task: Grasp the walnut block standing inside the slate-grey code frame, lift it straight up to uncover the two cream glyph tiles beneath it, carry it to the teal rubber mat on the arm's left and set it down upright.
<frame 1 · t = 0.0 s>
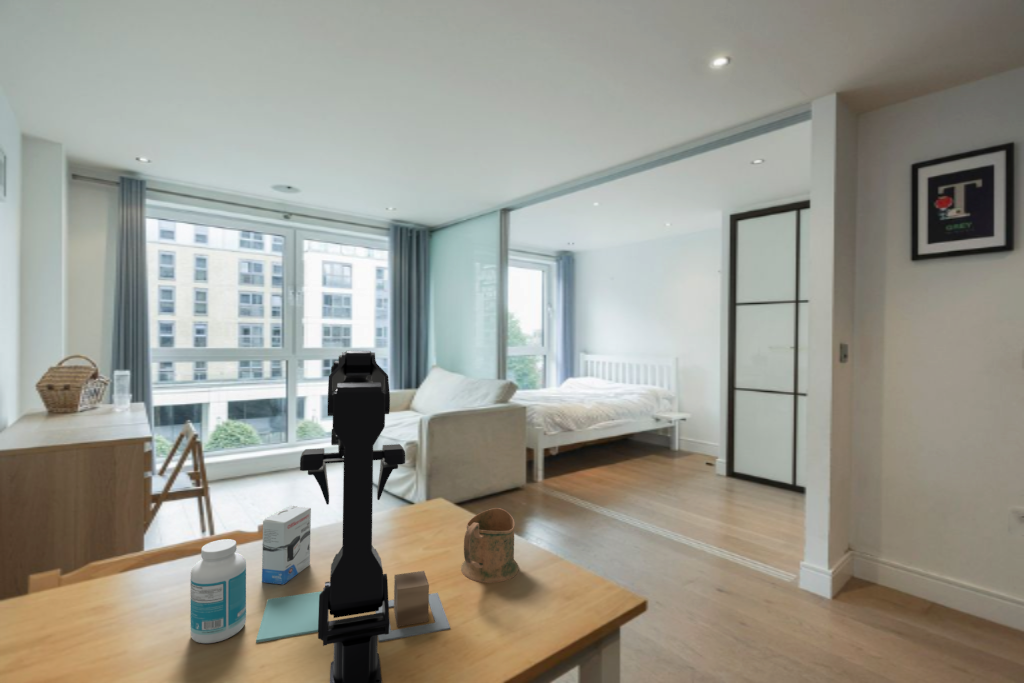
hand: (353, 501, 92), 15 cm above the table, fingers open, 9 cm apart
pill bottle: (218, 632, 75), on the table
mug: (484, 576, 94), on the table
block: (410, 615, 80), on the table, touching code frame
code frame: (410, 616, 80), on the table
ink box: (286, 574, 94), on the table
mat: (296, 615, 80), on the table
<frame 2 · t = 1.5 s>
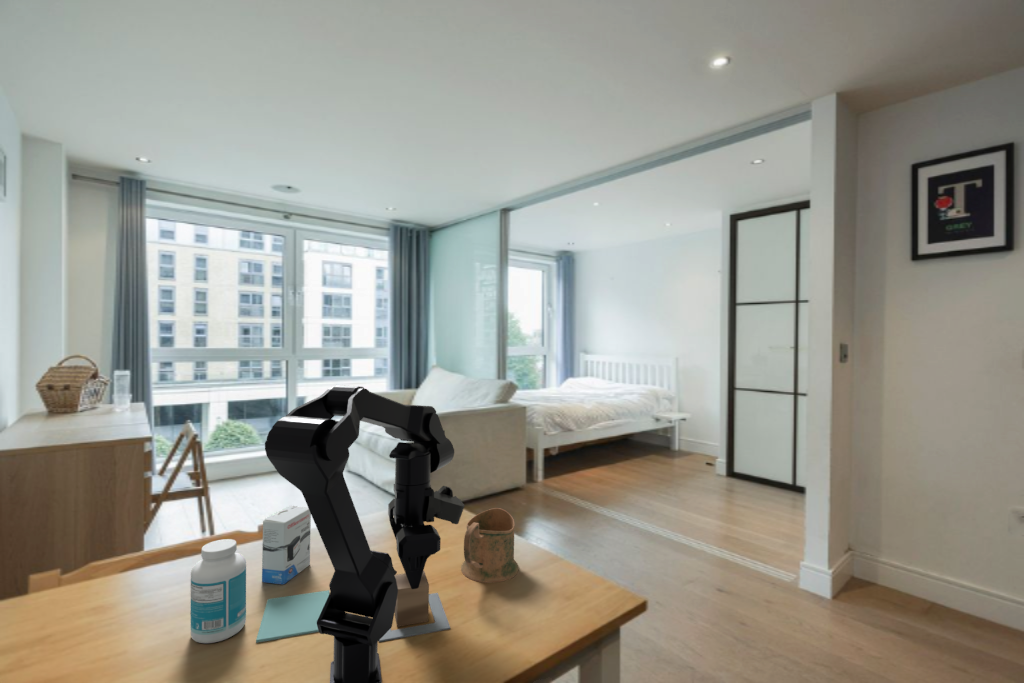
hand: (411, 574, 80), 7 cm above the table, fingers open, 9 cm apart
nothing on the table moved.
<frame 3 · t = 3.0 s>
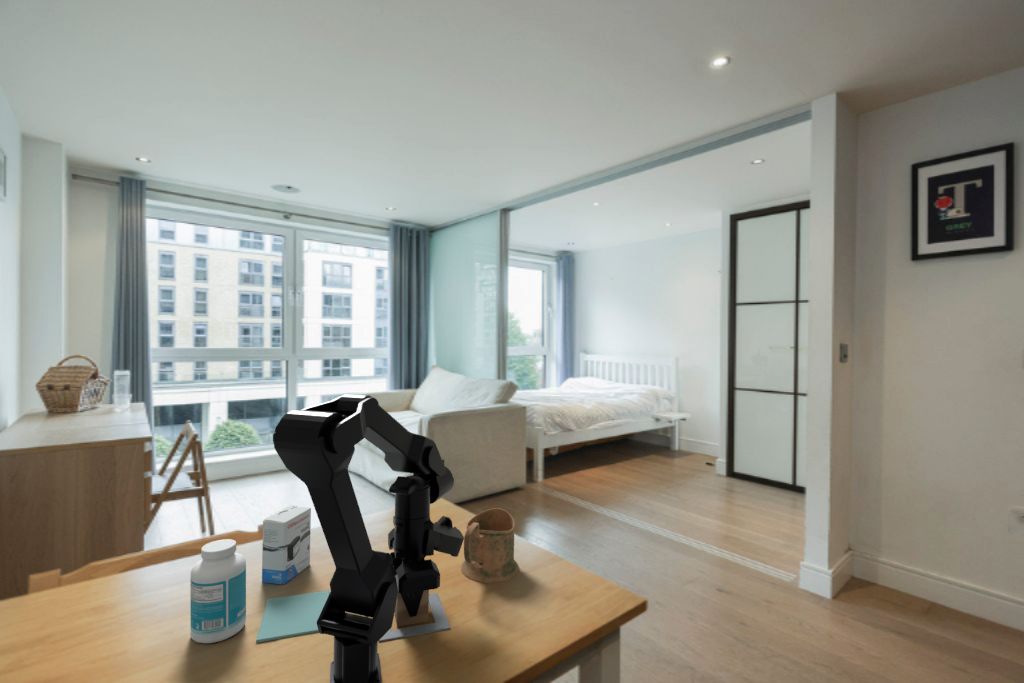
hand: (410, 607, 80), 2 cm above the table, fingers closed on block, 5 cm apart
block: (410, 615, 80), on the table, touching code frame, gripper
everything else where it was.
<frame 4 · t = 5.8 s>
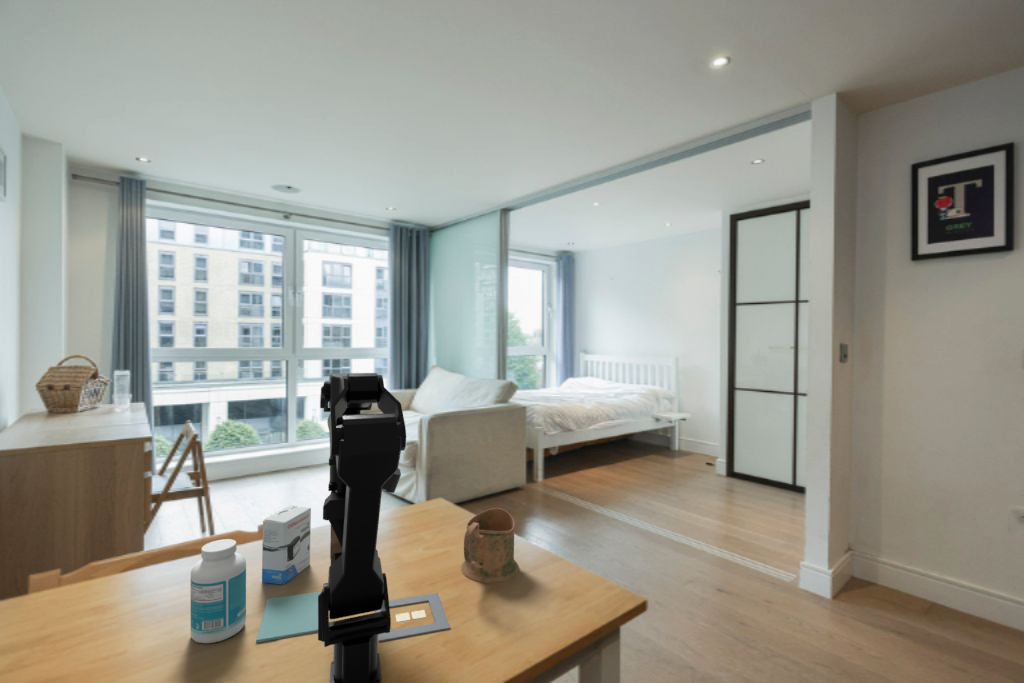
hand: (347, 542, 80), 12 cm above the table, fingers closed on block, 5 cm apart
block: (347, 550, 80), point 11 cm above the table, touching gripper
everything else where it was.
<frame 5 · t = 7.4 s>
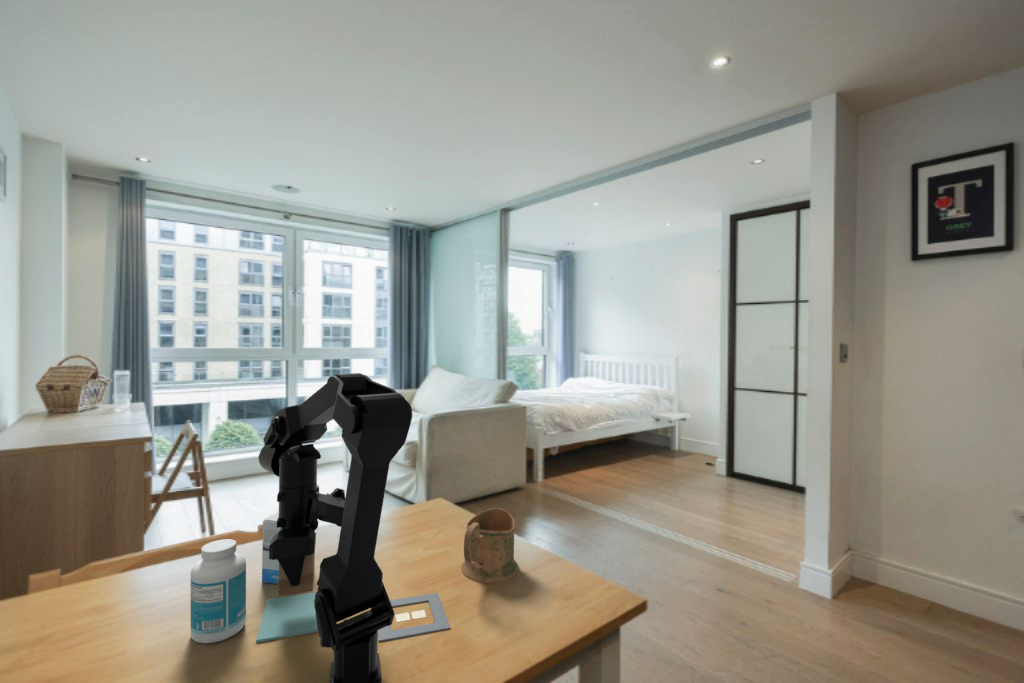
hand: (296, 577, 80), 6 cm above the table, fingers closed on block, 5 cm apart
block: (297, 585, 80), point 5 cm above the table, touching gripper
everything else where it was.
when the fingers open (3 cm above the table, at t = 8.8 s): block drops 1 cm, resting on mat.
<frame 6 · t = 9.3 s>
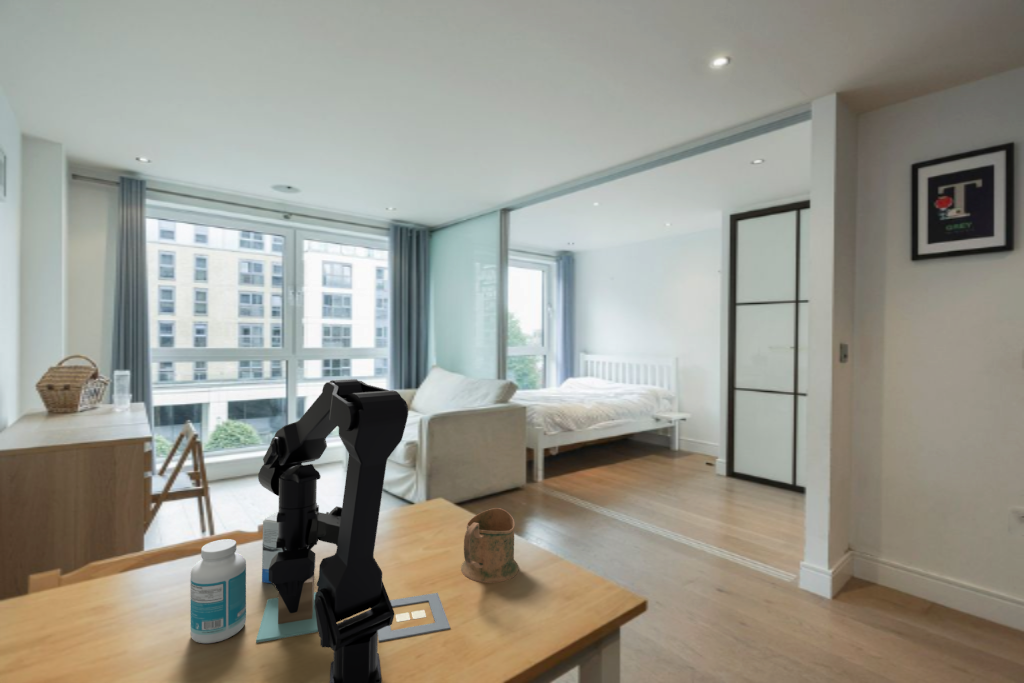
hand: (296, 597, 80), 3 cm above the table, fingers open, 9 cm apart
block: (296, 612, 80), resting on mat
everything else where it was.
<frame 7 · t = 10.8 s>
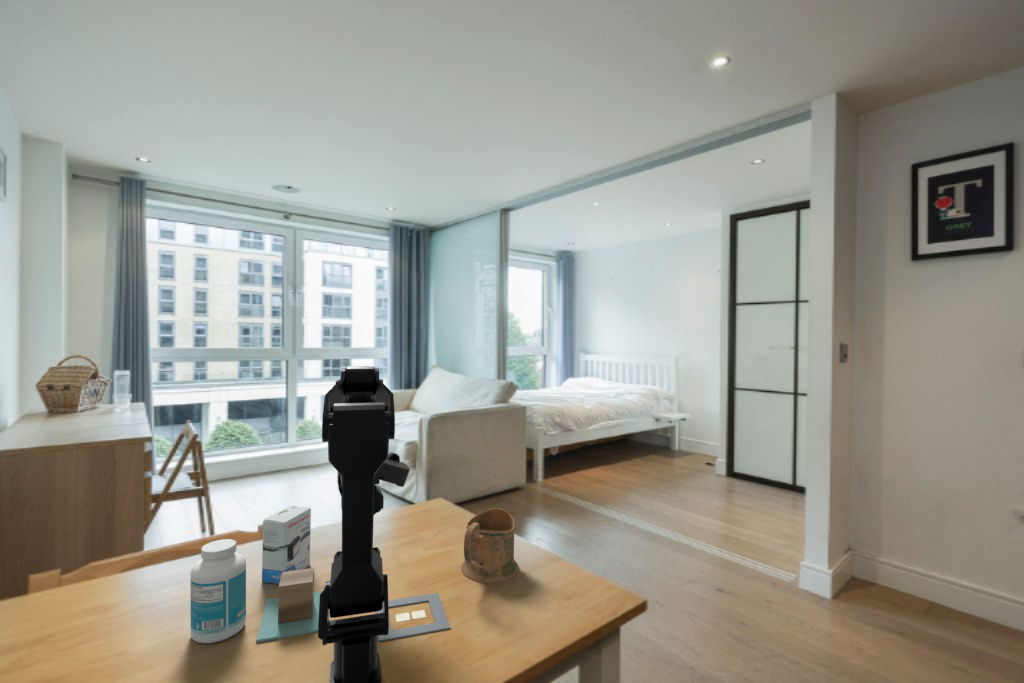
hand: (357, 536, 83), 12 cm above the table, fingers open, 9 cm apart
nothing on the table moved.
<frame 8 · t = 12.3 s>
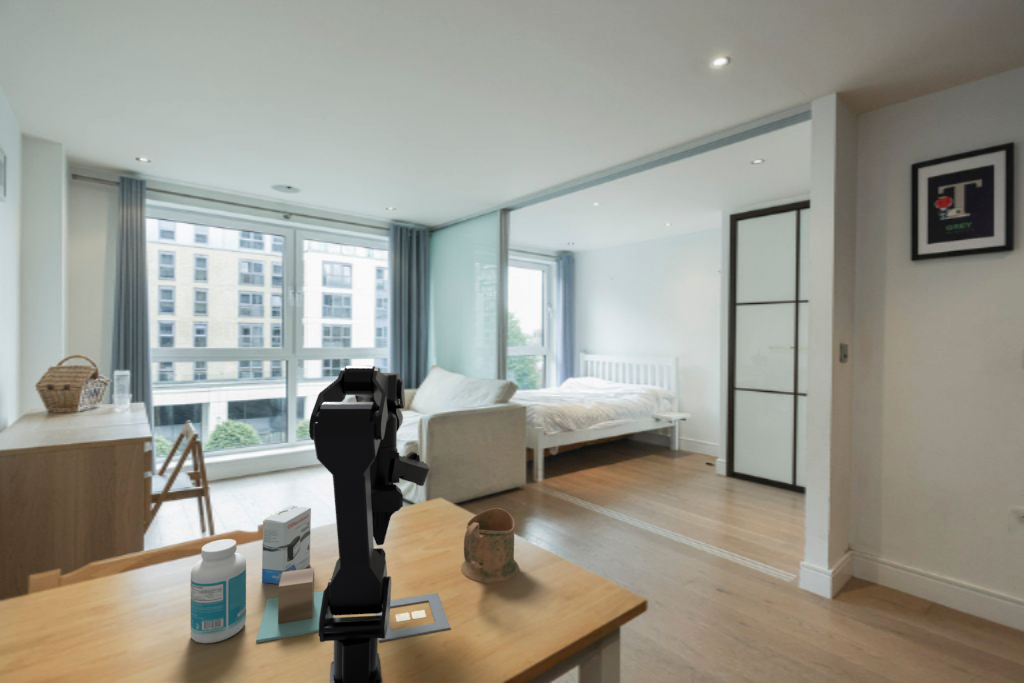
hand: (378, 533, 84), 12 cm above the table, fingers open, 9 cm apart
nothing on the table moved.
at the end: block inside the target area on the mat (0.1 cm from its centre), point 0.4 cm above the mat's base; block tilted 0°; the gripper is holding nothing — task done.
